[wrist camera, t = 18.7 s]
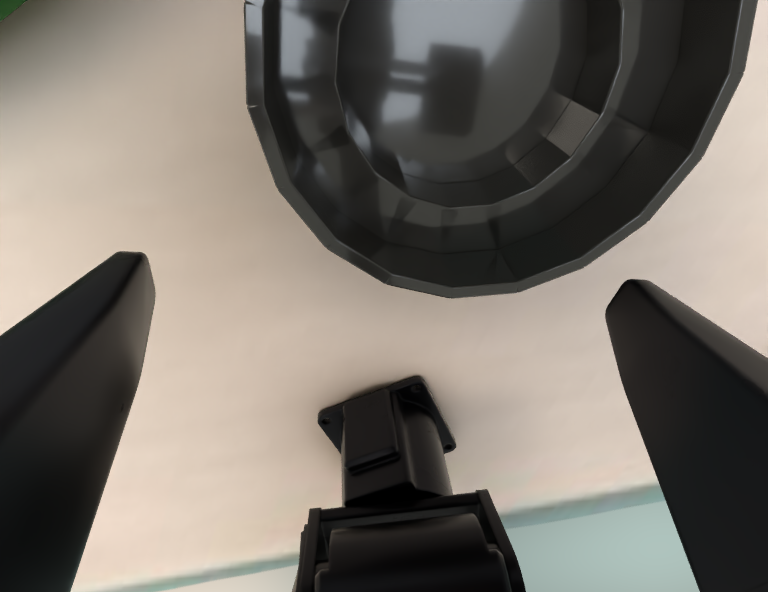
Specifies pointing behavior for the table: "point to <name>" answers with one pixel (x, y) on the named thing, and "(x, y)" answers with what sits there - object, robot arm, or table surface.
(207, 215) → the table surface
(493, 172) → the bowl
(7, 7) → the milk carton
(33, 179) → the table surface
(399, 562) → the robot arm
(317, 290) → the table surface
